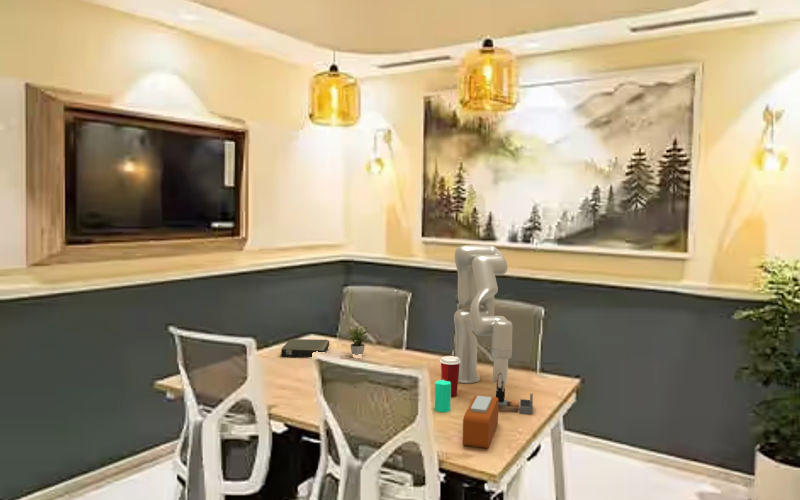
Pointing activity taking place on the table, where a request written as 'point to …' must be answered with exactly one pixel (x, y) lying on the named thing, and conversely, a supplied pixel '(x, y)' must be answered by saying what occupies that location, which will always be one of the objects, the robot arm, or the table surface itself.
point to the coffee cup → (450, 372)
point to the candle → (442, 396)
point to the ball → (514, 403)
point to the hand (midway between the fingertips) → (500, 399)
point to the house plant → (357, 340)
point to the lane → (508, 408)
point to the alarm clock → (480, 421)
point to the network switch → (303, 347)
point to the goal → (526, 405)
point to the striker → (503, 402)
